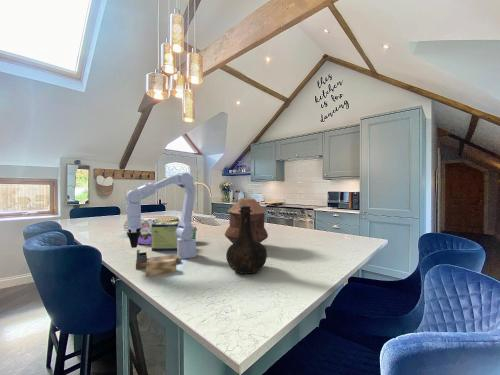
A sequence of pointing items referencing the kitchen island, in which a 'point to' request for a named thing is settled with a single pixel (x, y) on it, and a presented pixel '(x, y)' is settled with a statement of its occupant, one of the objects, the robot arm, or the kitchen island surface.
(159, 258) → the walnut base board
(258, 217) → the pottery vessel
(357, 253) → the kitchen island surface
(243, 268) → the dark brown ceramic vase
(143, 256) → the cup bracket
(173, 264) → the oak rail
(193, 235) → the food container
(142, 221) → the candy box
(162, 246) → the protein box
